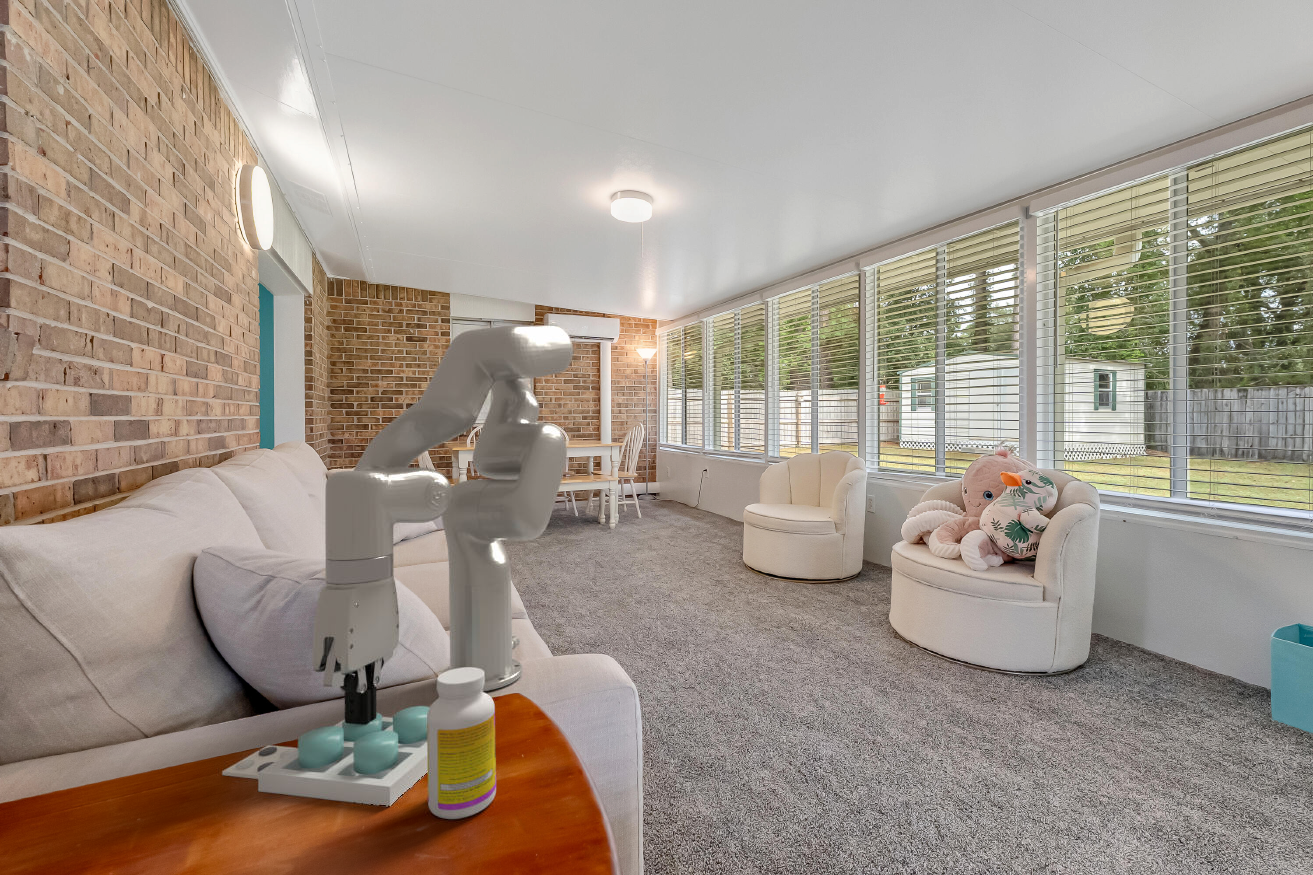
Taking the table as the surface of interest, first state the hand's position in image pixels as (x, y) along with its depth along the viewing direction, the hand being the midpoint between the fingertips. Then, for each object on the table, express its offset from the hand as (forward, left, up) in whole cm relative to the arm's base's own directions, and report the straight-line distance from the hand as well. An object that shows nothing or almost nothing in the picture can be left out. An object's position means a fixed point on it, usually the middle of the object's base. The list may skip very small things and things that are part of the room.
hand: (360, 720), depth 71 cm
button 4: (0, +7, -1) cm, 7 cm away
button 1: (+6, 0, -1) cm, 6 cm away
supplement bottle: (+8, +18, -4) cm, 20 cm away
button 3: (+6, +7, -1) cm, 10 cm away
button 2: (0, 0, -3) cm, 3 cm away
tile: (+5, -8, -3) cm, 10 cm away
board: (+3, +4, -3) cm, 6 cm away
